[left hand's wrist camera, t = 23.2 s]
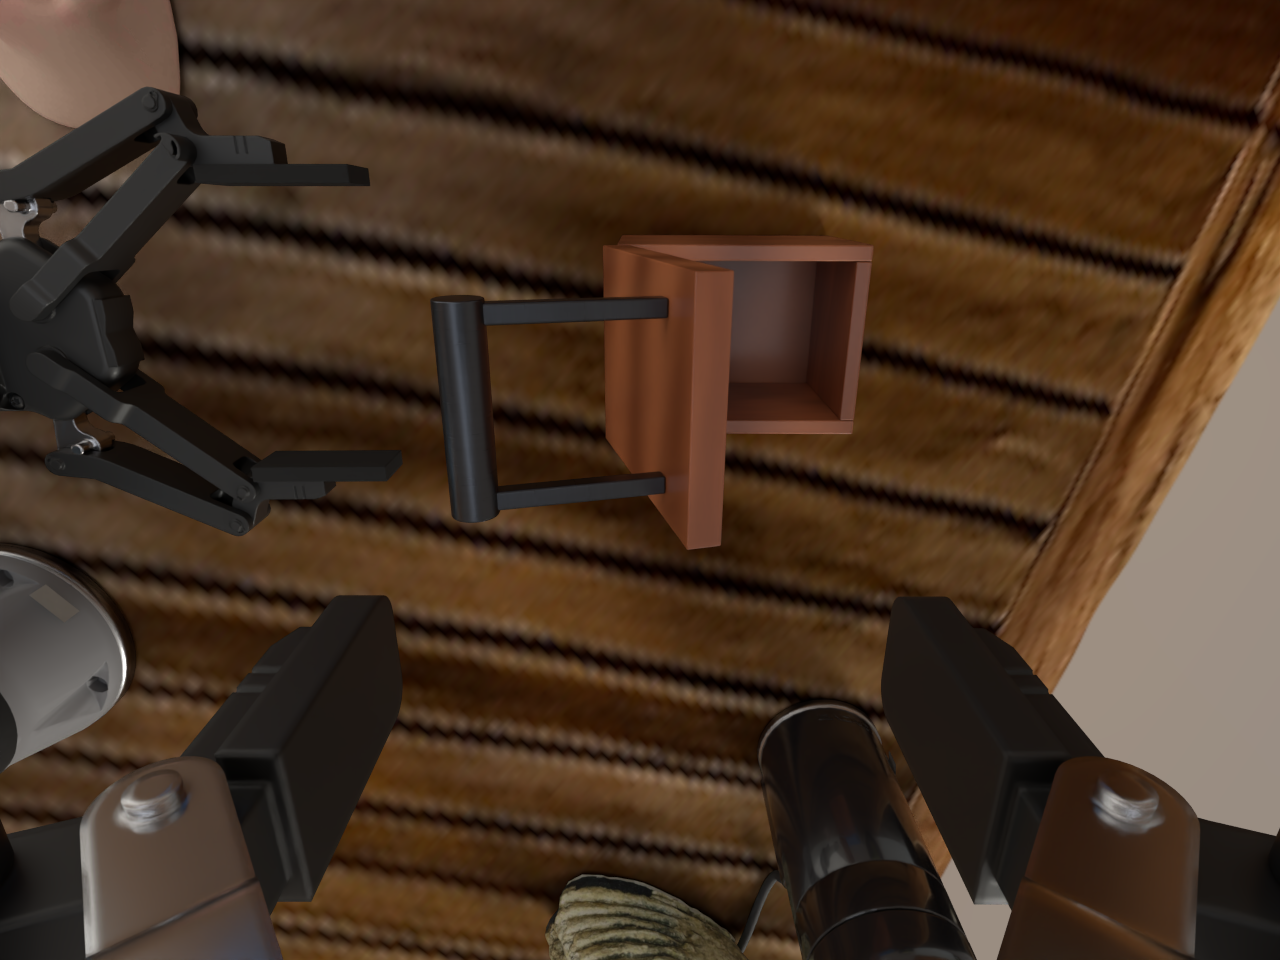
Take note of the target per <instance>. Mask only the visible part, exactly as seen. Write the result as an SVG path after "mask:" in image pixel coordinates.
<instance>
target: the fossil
mask: <svg viewBox="0 0 1280 960" xmlns="http://www.w3.org/2000/svg"><path fill="white" fill-rule="evenodd" d="M545 937H546V939H547V942H548V944H549V956H550V958H551V960H748V959H747V958H746V957H745V956H744V954H743V953H742V952H741V950H740V949H739V947H738V946H737V945H736V944H735V939H734V937H733V936H732V935H731V934H730V933H729V932H728V931H727V930H726V929H724V928H722V927H720V926H719V925H718V924H716V923H715V922H714V921H713V920H712V919H711V918H709V917H707V916H706V915H704V914H702V913H701V912H699V911H698V910H697V909H694V908H691V907H689V906H688V905H687V904H685V903H684V902H683V901H681V900H680V899H678V898H676V897H674V896H671V895H669V894H667V893H665V892H663V891H661V890H659V889H657V888H655V887H652V886H650V885H647V884H645V883H642V882H638V881H635V880H629V879H623V878H618V877H606V876H603V875H583V874H582V875H580V876H578V877H576V878H575V879H573V880H571V881H569V882H568V883H567V885H566V887H565V888H564V890H563V892H562V895H561V896H560V903H559V909H558V910H557V911H556V913H555V914H554V915H553V916H552V918H551V919H550V921H549V923H548V925H547V927H546V933H545Z"/></svg>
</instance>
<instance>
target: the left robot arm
mask: <svg viewBox="0 0 1280 960" xmlns="http://www.w3.org/2000/svg"><path fill="white" fill-rule="evenodd" d="M1032 671H1033V670H1032V669H1031V668H1030V667H1029V666H1028V664H1027V663H1026V662H1025V661H1024V660H1023V658H1022V657H1021V656H1020V655H1019V654H1018V652H1017V651H1016V650H1015V649H1014V648H1013V647H1012V646H1010V645H1009V644H1007V643H1006V642H1004V641H1003V640H1001V639H1000V638H998V637H997V636H995V635H994V634H992V633H991V632H989V631H987V630H986V629H984V628H972V627H971V625H970V624H969V623H968V621H967V620H966V619H965V618H964V616H963V615H962V614H961V612H960V611H959V610H958V608H957V607H956V606H955V605H954V603H953V602H952V601H951V600H950V599H949V598H948V597H898V598H896V600H895V601H894V603H893V606H892V610H891V617H890V623H889V630H888V637H887V644H886V651H885V658H884V664H883V671H882V679H881V695H882V703H883V708H884V713H885V716H886V719H887V721H888V723H889V725H890V727H891V730H892V732H893V734H894V736H895V738H896V740H897V742H898V744H899V746H900V749H901V751H902V753H903V755H904V757H905V759H906V761H907V763H908V765H909V768H910V770H911V772H912V774H913V776H914V778H915V780H916V782H917V785H918V787H919V789H920V791H921V793H922V795H923V797H924V799H925V801H926V804H927V806H928V808H929V810H930V812H931V814H932V816H933V818H934V820H935V823H936V825H937V827H938V829H939V831H940V833H941V835H942V837H943V840H944V842H945V844H946V846H947V848H948V850H949V852H950V854H951V856H952V859H953V861H954V863H955V865H956V867H957V869H958V871H959V873H960V875H961V878H962V880H963V882H964V884H965V886H966V888H967V890H968V892H969V894H970V897H971V899H972V901H973V903H974V904H1008V905H1009V907H1010V908H1011V910H1012V912H1011V915H1010V918H1009V922H1008V925H1007V928H1006V931H1005V935H1004V938H1003V941H1002V944H1001V948H1000V951H999V954H998V957H997V960H1280V829H1279V831H1278V834H1277V836H1273V835H1269V834H1265V833H1260V832H1256V831H1251V830H1247V829H1243V828H1238V827H1234V826H1229V825H1225V824H1221V823H1217V822H1213V821H1208V820H1205V819H1201V818H1197V815H1196V814H1195V812H1194V810H1193V809H1192V807H1191V806H1190V805H1189V803H1188V802H1187V801H1186V800H1185V799H1184V798H1183V797H1182V796H1181V795H1180V794H1179V793H1178V792H1177V791H1176V790H1174V789H1173V788H1172V787H1171V786H1169V785H1168V784H1167V783H1165V782H1164V781H1162V780H1160V779H1159V778H1157V777H1156V776H1154V775H1152V774H1150V773H1148V772H1146V771H1144V770H1142V769H1140V768H1138V767H1135V766H1133V765H1130V764H1127V763H1124V762H1121V761H1118V760H1114V759H1110V758H1105V757H1104V756H1103V755H1102V754H1101V752H1100V751H1099V750H1098V749H1097V748H1096V746H1095V745H1094V744H1093V743H1092V741H1091V740H1090V739H1089V738H1088V737H1087V735H1086V734H1085V733H1084V732H1083V731H1082V729H1081V728H1080V727H1079V726H1078V725H1077V723H1076V722H1075V721H1074V720H1073V719H1072V717H1071V716H1070V715H1069V714H1068V713H1067V711H1066V710H1065V709H1064V708H1063V707H1062V705H1061V704H1060V703H1059V702H1058V701H1057V699H1056V698H1055V697H1054V696H1053V695H1052V694H1049V693H1048V688H1047V687H1046V686H1045V685H1044V684H1043V682H1042V681H1041V680H1040V679H1039V678H1038V676H1037V675H1033V673H1032ZM401 699H402V673H401V666H400V659H399V652H398V645H397V638H396V631H395V624H394V617H393V610H392V606H391V602H390V600H389V599H388V597H387V596H384V595H339V596H336V597H335V598H334V599H333V600H332V601H331V602H330V604H329V605H328V606H327V608H326V609H325V610H324V611H323V613H322V614H321V615H320V617H319V618H318V619H317V621H316V622H315V623H314V625H313V626H312V627H299V628H298V629H296V630H295V631H293V632H292V633H290V634H289V635H287V636H286V637H284V638H283V639H281V640H280V641H278V642H277V643H275V644H274V645H272V646H271V647H270V648H269V649H268V650H267V652H266V653H265V654H264V655H263V656H262V658H261V659H260V660H259V661H258V663H257V664H256V665H255V666H254V667H253V669H252V673H248V675H247V676H246V677H245V678H244V680H243V681H242V682H241V683H240V684H239V686H238V687H237V692H236V693H232V694H231V695H230V697H229V698H228V699H227V700H226V701H225V703H224V704H223V705H222V706H221V708H220V709H219V710H218V711H217V712H216V714H215V715H214V716H213V717H212V718H211V720H210V721H209V722H208V723H207V725H206V726H205V727H204V728H203V729H202V731H201V732H200V733H199V734H198V735H197V737H196V738H195V739H194V740H193V742H192V743H191V744H190V745H189V746H188V748H187V749H186V750H185V751H184V752H183V754H182V755H181V756H180V757H176V758H170V759H166V760H162V761H159V762H156V763H153V764H149V765H147V766H145V767H142V768H140V769H138V770H136V771H134V772H132V773H130V774H128V775H126V776H124V777H123V778H121V779H120V780H118V781H116V782H115V783H113V784H112V785H111V786H109V787H108V788H107V789H105V790H104V791H103V792H102V793H101V794H100V795H99V796H98V797H97V798H96V799H95V800H94V801H93V802H92V803H91V805H90V806H89V807H88V809H87V810H86V812H85V814H84V815H83V817H80V818H76V819H71V820H67V821H63V822H58V823H54V824H49V825H45V826H41V827H36V828H32V829H28V830H23V831H19V832H15V833H10V834H6V832H5V829H4V827H3V825H2V822H1V820H0V960H283V957H282V954H281V951H280V948H279V944H278V941H277V938H276V935H275V931H274V928H273V925H272V922H271V918H270V915H271V913H272V911H273V909H274V907H275V905H276V903H277V902H311V901H312V899H313V897H314V894H315V892H316V890H317V888H318V886H319V884H320V882H321V880H322V877H323V875H324V873H325V871H326V869H327V867H328V865H329V862H330V860H331V858H332V856H333V854H334V852H335V850H336V847H337V845H338V843H339V841H340V839H341V837H342V835H343V832H344V830H345V828H346V826H347V824H348V822H349V820H350V817H351V815H352V813H353V811H354V809H355V807H356V805H357V802H358V800H359V798H360V796H361V794H362V792H363V790H364V787H365V785H366V783H367V781H368V779H369V777H370V775H371V772H372V770H373V768H374V766H375V764H376V762H377V760H378V757H379V755H380V753H381V751H382V749H383V747H384V745H385V742H386V740H387V738H388V736H389V734H390V732H391V730H392V727H393V725H394V723H395V721H396V719H397V716H398V713H399V710H400V705H401ZM757 754H758V761H759V766H760V770H761V773H762V775H763V777H762V779H761V786H762V791H763V796H764V801H765V806H766V810H767V815H768V820H769V825H770V830H771V835H772V839H773V844H774V849H775V854H776V859H777V864H778V868H779V871H777V870H775V871H773V872H771V873H770V874H769V875H768V877H767V878H766V879H765V881H764V883H763V885H762V887H761V889H760V891H759V893H758V895H757V898H756V900H755V903H754V905H753V908H752V910H751V913H750V916H749V918H748V921H747V924H746V926H745V929H744V931H743V933H742V936H741V938H740V940H739V942H738V944H737V946H738V947H739V949H740V950H741V952H742V953H743V952H744V950H745V948H746V946H747V944H748V942H749V940H750V937H751V935H752V933H753V930H754V928H755V925H756V922H757V920H758V917H759V914H760V912H761V909H762V907H763V904H764V902H765V899H766V897H767V895H768V893H769V891H770V889H771V888H772V886H773V885H774V883H775V882H776V881H779V882H780V883H782V885H783V886H784V887H785V888H786V889H787V891H788V896H789V900H790V905H791V909H792V914H793V919H794V923H795V928H796V933H797V936H798V941H799V946H800V950H801V955H802V960H977V959H976V957H975V954H974V952H973V950H972V948H971V946H970V943H969V942H968V940H967V937H966V935H965V933H964V930H963V928H962V926H961V924H960V921H959V919H958V917H957V915H956V912H955V910H954V908H953V905H952V903H951V901H950V899H949V896H948V894H947V892H946V890H945V888H944V886H943V883H942V881H941V879H940V876H939V874H938V872H937V870H936V867H935V865H934V863H933V860H932V858H931V856H930V854H929V851H928V849H927V847H926V845H925V842H924V840H923V838H922V835H921V833H920V831H919V829H918V826H917V824H916V822H915V819H914V817H913V815H912V813H911V810H910V808H909V806H908V803H907V801H906V799H905V797H904V794H903V792H902V790H901V788H900V785H899V783H898V781H897V778H896V776H895V770H896V764H895V762H894V760H893V758H892V756H891V754H890V751H889V760H888V758H887V755H886V753H885V751H884V749H883V746H882V743H881V739H880V736H879V734H878V732H877V730H876V727H875V725H874V724H873V722H872V721H871V719H870V718H869V717H868V716H867V715H866V714H865V713H864V712H862V711H861V710H860V709H858V708H856V707H855V706H853V705H850V704H848V703H845V702H841V701H837V700H828V699H819V700H810V701H805V702H802V703H799V704H796V705H793V706H791V707H789V708H787V709H785V710H784V711H782V712H781V713H779V714H778V715H777V716H775V717H774V718H773V719H772V720H771V721H770V722H769V724H768V725H767V726H766V727H765V729H764V730H763V732H762V734H761V737H760V739H759V743H758V749H757Z"/></svg>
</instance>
